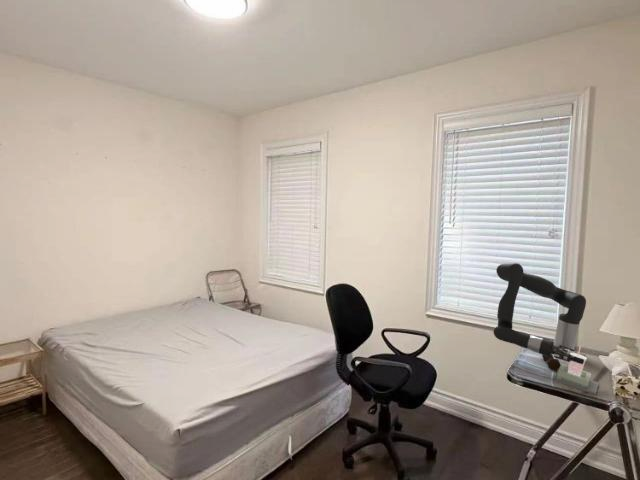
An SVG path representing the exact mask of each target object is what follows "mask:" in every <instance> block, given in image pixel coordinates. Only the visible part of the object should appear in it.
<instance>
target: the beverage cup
mask: <svg viewBox="0 0 640 480" xmlns="http://www.w3.org/2000/svg"><path fill="white" fill-rule="evenodd" d="M581 348H582V344H579V348H578V352H577V353H578V354H577V353H570V355H573V357H574V356H575V357H578V358H581V359H584V363H583V364H580V363H577V362H574V361H570V362H568V366H569V367H568V373H571V374H573V375H576V376H579V377H580V376H581V373H582V370H583V369H584V366H585V363H586V362H587V356H586V355H585V356H586V357H585V356H583V355H584V354H583V355H581V354H582V353H580V352H581ZM579 353H580V354H579ZM583 371H584V370H583Z"/></svg>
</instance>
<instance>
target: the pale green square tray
mask: <svg viewBox="0 0 640 480" xmlns="http://www.w3.org/2000/svg"><path fill="white" fill-rule="evenodd" d="M560 364H561V366H560V368H559V369H558V370H557V373H556V377H555V381H556V382H559V383H562V384H565V385H567V386H569V387H572V388H575V389H577V390H581V391H584V392H586V393H588V394H590V395H591V394H592V395H594V396H596V395H597V392H598V389H599V382H598V381H595V380H592V379H591V378H592V373H591V372H588V371H585V370H582V373H581V376H580V377H579V376H576V375H573V374H571V373H568V367H569V364H568V365H567V364H564V363H560Z"/></svg>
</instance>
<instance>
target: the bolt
mask: <svg viewBox="0 0 640 480" xmlns="http://www.w3.org/2000/svg"><path fill="white" fill-rule="evenodd" d="M541 356H542V358H543V361H545V362H546V364H547V367H548V368H549V369H550V370H554V371H558V369H559V368H560V366H561V364H562V363H561V362H560V359H558V358H555V357H554V355H553V354H551V356H550V357H548V356H545V355H542V354H541Z"/></svg>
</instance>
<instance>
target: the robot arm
mask: <svg viewBox="0 0 640 480" xmlns="http://www.w3.org/2000/svg"><path fill="white" fill-rule="evenodd" d="M496 274H497V276H498V278H500V279H501V280H503V281H505V282H508V284H507V287H506V290H505V292H504V293H503V295H502V297H501V298H500V300H499V303H498V307H497V313H496V314H497V315H496V317H497V320H498V321H497V326H495V327H494V329H493V335H494V337H495V339H497V340H499V341H502V342H506V343H508V344H513V345H515V346H519V347H521V348H524V349H527V350H529V351H531V352H534V353H536V354H539V355H541V356H542V355H545V356H548V357H550V356H551V354H552V355H553V357H554V359H558V360H561V361H566V362H568V363H569V362H570V361H574V362H577V363H580V364H583V363H584V359H581V358H578V357H575V356H574V357H573V355H570V353H577V354H578V352H576V351H575V347H576V346H575V345H576V341H577V337H578V336H577V335H578V331H579V327H580V323H581V320H583V317H584V314H585V313H584V312H585V309H586V306H587V299H586V297H585V296H584V295H582V294H580V293H578V292H577V293H576V292H574V291H570V290H566V289H563V288H561V287H558V286H556V285H555V284H554V282H552V281H550V280H548V279H546V278H544V277H541V276H539V275H535V274H531V273H526V272H524V268H523V266H522V265H521V264H520V263H517V262H505V263H504V262H503V263H501V264H499V265H498V266H497V267H496ZM520 287H521V288H522V289H525V290H527V291H530V293H533V294H535V295H537V296H540V297H542V298H544V299H545V298H546V299H550V300H551V301H554V302H555V303H557V304H559V305H561V307H564V308H566V309H568V310H567V312H566V313H560V314H559V315H558V320H557V325H556V329H555V335H554V339H553V340H551V339H548V338H544V337H542V336H541V337H540V336H538V335H533V334H530V333H527V332H524V331H518V330H514V329H513V319H514V311H515V304H516V300H517V296H518V293H519V290H520ZM579 354H581V355H583V356H585V357H586V358H587V355H586V354H582V353H579ZM584 364H585V363H584Z"/></svg>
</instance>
